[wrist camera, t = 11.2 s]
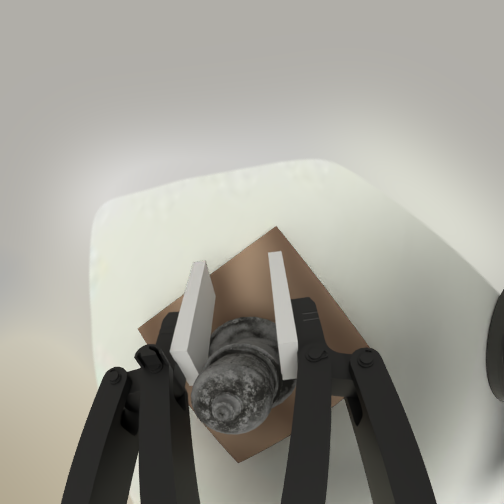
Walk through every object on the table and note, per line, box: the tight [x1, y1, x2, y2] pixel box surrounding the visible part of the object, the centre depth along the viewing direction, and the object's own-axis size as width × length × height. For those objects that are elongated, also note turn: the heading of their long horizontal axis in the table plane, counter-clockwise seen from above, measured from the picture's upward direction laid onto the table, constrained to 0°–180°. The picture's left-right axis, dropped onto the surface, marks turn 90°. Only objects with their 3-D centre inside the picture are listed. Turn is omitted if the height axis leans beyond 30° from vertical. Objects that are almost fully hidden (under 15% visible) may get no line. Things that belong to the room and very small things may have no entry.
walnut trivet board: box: [138, 226, 370, 463], centre depth 20 cm, size 14×14×2 cm
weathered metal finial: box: [191, 317, 297, 435], centre depth 13 cm, size 6×6×12 cm
